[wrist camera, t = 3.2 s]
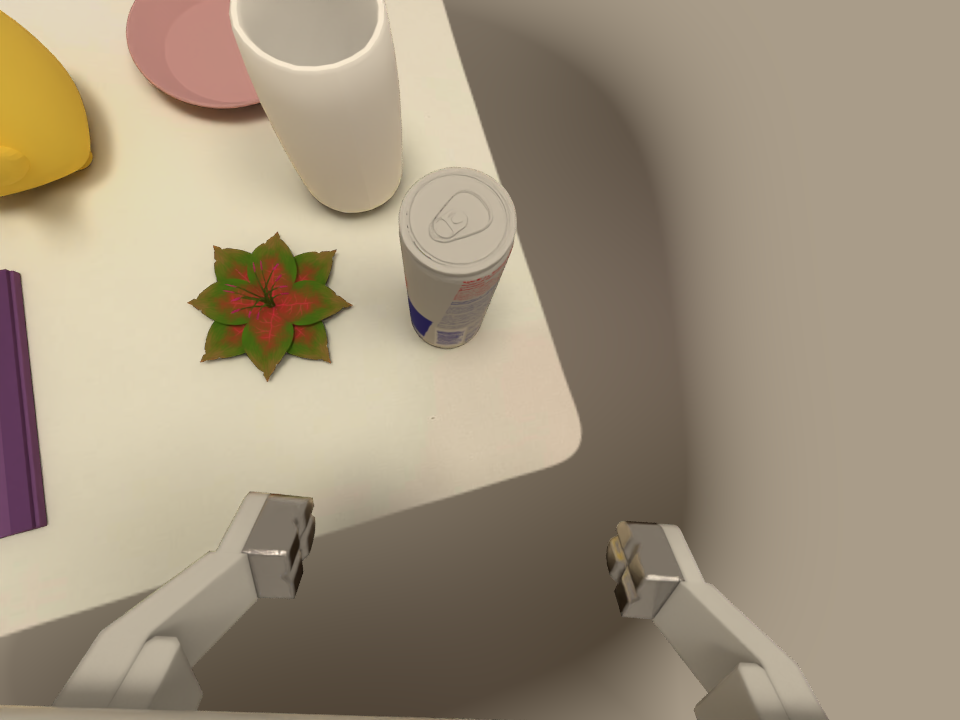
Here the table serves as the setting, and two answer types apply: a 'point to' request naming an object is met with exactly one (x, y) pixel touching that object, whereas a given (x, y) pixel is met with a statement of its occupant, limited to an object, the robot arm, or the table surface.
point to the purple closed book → (17, 419)
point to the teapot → (37, 114)
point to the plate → (190, 51)
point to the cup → (328, 93)
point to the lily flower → (269, 304)
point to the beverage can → (454, 251)
